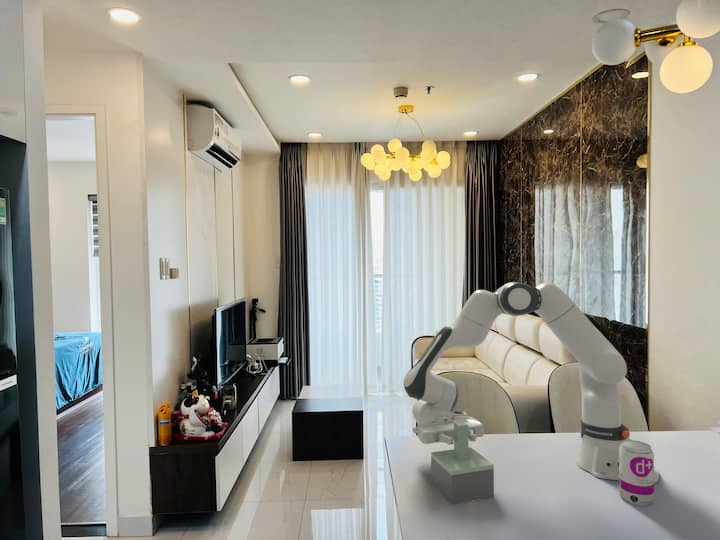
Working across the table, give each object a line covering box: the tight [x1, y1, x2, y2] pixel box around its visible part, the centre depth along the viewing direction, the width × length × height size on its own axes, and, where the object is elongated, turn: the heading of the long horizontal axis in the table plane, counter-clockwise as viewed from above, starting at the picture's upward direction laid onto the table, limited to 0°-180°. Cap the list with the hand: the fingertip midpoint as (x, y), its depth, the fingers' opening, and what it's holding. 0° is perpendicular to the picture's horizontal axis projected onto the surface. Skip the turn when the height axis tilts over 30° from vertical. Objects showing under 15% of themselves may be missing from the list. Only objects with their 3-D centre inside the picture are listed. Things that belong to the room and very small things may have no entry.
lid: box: [430, 422, 495, 475], centre depth 135 cm, size 13×13×13 cm
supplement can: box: [618, 439, 655, 507], centre depth 129 cm, size 8×8×15 cm
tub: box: [430, 456, 495, 505], centre depth 135 cm, size 13×13×8 cm
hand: (462, 440), depth 134 cm, fingers open, 6 cm apart
